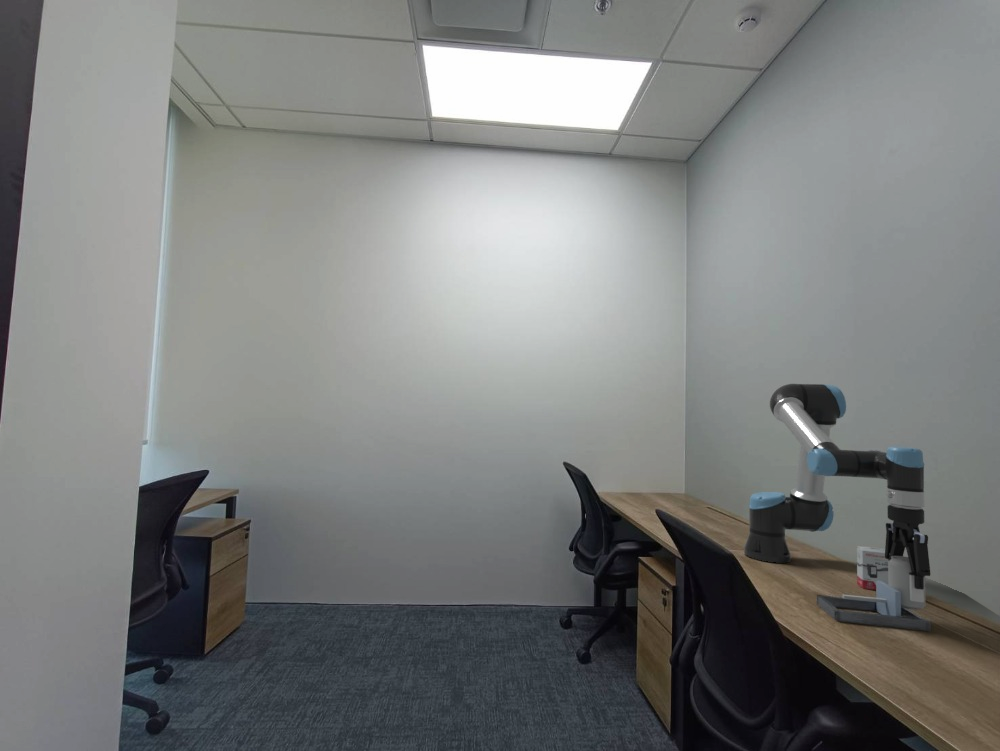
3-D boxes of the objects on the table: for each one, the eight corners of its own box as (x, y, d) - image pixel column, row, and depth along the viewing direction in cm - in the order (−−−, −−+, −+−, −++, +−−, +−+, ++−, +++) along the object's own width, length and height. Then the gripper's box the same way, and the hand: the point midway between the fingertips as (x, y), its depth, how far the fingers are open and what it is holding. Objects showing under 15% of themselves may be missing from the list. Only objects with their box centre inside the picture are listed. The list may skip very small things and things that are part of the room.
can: (932, 612, 125) (931, 564, 126) (898, 609, 126) (898, 561, 127) (914, 601, 132) (913, 555, 133) (882, 598, 134) (881, 553, 134)
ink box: (861, 588, 152) (861, 549, 153) (856, 583, 157) (856, 545, 158) (896, 593, 149) (895, 553, 150) (889, 588, 154) (889, 549, 155)
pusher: (835, 606, 136) (835, 576, 136) (881, 611, 134) (881, 580, 134) (851, 619, 127) (851, 587, 128) (901, 625, 125) (900, 592, 126)
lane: (816, 604, 138) (816, 594, 138) (902, 613, 134) (902, 603, 134) (836, 621, 127) (836, 611, 127) (930, 631, 123) (930, 621, 123)
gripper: (868, 498, 141) (869, 580, 140) (913, 513, 121) (915, 608, 120) (898, 500, 140) (899, 583, 139) (949, 515, 120) (950, 612, 119)
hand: (906, 595), depth 129 cm, fingers closed on can, 7 cm apart
